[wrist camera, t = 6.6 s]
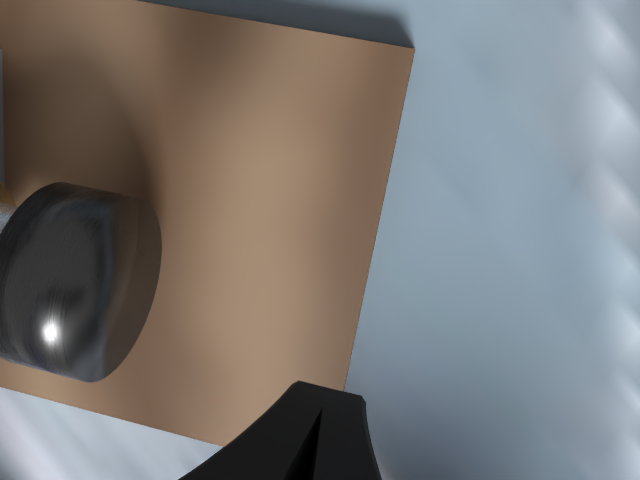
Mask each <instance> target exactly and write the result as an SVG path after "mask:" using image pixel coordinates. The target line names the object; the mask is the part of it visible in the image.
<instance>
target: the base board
mask: <svg viewBox="0 0 640 480" xmlns="http://www.w3.org/2000/svg"><path fill="white" fill-rule="evenodd" d="M0 49H2V71H3V125H4V179H5V186H6V188H7V189H8V190H9V192H10V194H11V195H12V197H13V200H14V202H15V205H16V206H20V205H21V204H22V203H23V202H24V201H25V199H27V198H28V197H29V196H30V195H31V194H33V193H34V192H35V191H37V190H39V189H40V188H42V187H44V186H46V185H49V184H52V183H56V182H67V183H72V184H77V185H81V186H86V187H90V188H95V189H100V190H104V191H109V192H113V193H118V194H123V195H127V196H132V197H136V198H141V199H144V200H146V201H147V202H148V203H149V204H150V205H151V206H152V207H153V209H154V210H155V212H156V215H157V217H158V220H159V224H160V229H161V238H162V256H161V267H160V273H159V279H158V284H157V289H156V292H155V296H154V300H153V303H152V306H151V309H150V312H149V315H148V317H147V320H146V322H145V325H144V327H143V329H142V331H141V333H140V335H139V337H138V339H137V341H136V343H135V344H134V346H133V348H132V349H131V351H130V352H129V354H128V355H127V357H126V358H125V359H124V361H123V362H122V363H121V364H120V365H119V366H118V367H117V369H116V370H114V371H113V372H112V373H111V374H110V375H108V376H107V377H106V378H104V379H102V380H100V381H97V382H93V383H90V382H83V381H79V380H76V379H72V378H68V377H64V376H60V375H56V374H53V373H49V372H45V371H41V370H37V369H33V368H30V367H26V366H22V365H18V364H14V363H11V362H8V361H5V360H4V359H2V358H1V357H0V387H3V388H7V389H10V390H14V391H18V392H21V393H25V394H29V395H33V396H36V397H40V398H44V399H48V400H51V401H55V402H59V403H63V404H66V405H70V406H74V407H77V408H81V409H85V410H89V411H92V412H96V413H100V414H104V415H107V416H111V417H115V418H119V419H122V420H126V421H130V422H133V423H137V424H141V425H145V426H148V427H152V428H156V429H160V430H163V431H167V432H171V433H174V434H178V435H182V436H186V437H189V438H193V439H197V440H201V441H204V442H208V443H212V444H216V445H219V446H223V447H225V446H226V445H227V444H229V443H230V442H231V441H232V440H234V439H235V438H236V437H237V436H239V435H240V434H241V433H242V432H243V431H244V430H245V429H247V428H248V427H249V426H250V425H251V424H252V423H253V422H255V421H256V420H257V419H258V418H259V417H260V416H261V415H262V414H264V413H265V412H266V411H267V410H268V409H269V408H270V407H271V406H272V405H273V404H274V403H275V402H276V401H277V400H278V399H279V398H280V397H281V396H282V395H283V394H284V392H285V391H286V390H287V389H288V388H289V387H290V386H291V384H293V383H295V382H296V381H298V380H299V381H303V382H307V383H311V384H315V385H319V386H323V387H327V388H331V389H335V390H339V391H343V392H344V387H345V382H346V377H347V373H348V368H349V363H350V358H351V353H352V349H353V344H354V339H355V334H356V330H357V325H358V320H359V315H360V310H361V306H362V301H363V296H364V291H365V287H366V282H367V277H368V272H369V268H370V263H371V258H372V253H373V248H374V244H375V239H376V234H377V229H378V225H379V220H380V215H381V210H382V205H383V201H384V196H385V191H386V186H387V182H388V177H389V172H390V167H391V162H392V158H393V153H394V148H395V143H396V139H397V134H398V129H399V124H400V120H401V115H402V110H403V105H404V100H405V96H406V91H407V86H408V81H409V77H410V72H411V67H412V62H413V57H414V53H415V49H413V48H407V47H401V46H396V45H390V44H384V43H378V42H373V41H367V40H361V39H355V38H350V37H344V36H338V35H332V34H326V33H321V32H315V31H309V30H303V29H298V28H292V27H286V26H280V25H275V24H269V23H263V22H257V21H252V20H246V19H240V18H234V17H229V16H223V15H217V14H211V13H206V12H200V11H194V10H188V9H183V8H177V7H171V6H165V5H160V4H154V3H148V2H142V1H137V0H0Z"/></svg>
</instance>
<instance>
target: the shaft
mask: <svg viewBox="0 0 640 480" xmlns="http://www.w3.org/2000/svg"><path fill="white" fill-rule="evenodd" d="M161 256H162V238H161V229H160V224H159V220H158V217H157V215H156V212H155V210H154V209H153V207H152V206H151V205H150V204H149V203H148V202H147V201H146V200H144V199H141V198H136V197H132V196H127V195H123V194H118V193H113V192H109V191H104V190H100V189H95V188H90V187H86V186H81V185H77V184H72V183H67V182H56V183H52V184H49V185H46V186H44V187H42V188H40V189H39V190H37V191H35V192H34V193H33V194H31V195H30V196H29V197H28V198H27V199H25V201H24V202H23V203H22V204H21V205H20V206H16V205H15V202H14V200H13V197H12V195H11V194H10V192H9V190H8V189H7V188H6V186H5V185H4V184H3V183H2V182H1V181H0V357H1V358H2V359H4V360H5V361H8V362H11V363H14V364H18V365H22V366H26V367H30V368H33V369H37V370H41V371H45V372H49V373H53V374H56V375H60V376H64V377H68V378H72V379H76V380H79V381H83V382H90V383H93V382H97V381H100V380H102V379H104V378H106V377H107V376H108V375H110V374H111V373H112V372H113V371H114V370H116V369H117V367H118V366H119V365H120V364H121V363H122V362H123V361H124V359H125V358H126V357H127V355H128V354H129V352H130V351H131V349H132V348H133V346H134V344H135V343H136V341H137V339H138V337H139V335H140V333H141V331H142V329H143V327H144V325H145V322H146V320H147V317H148V315H149V312H150V309H151V306H152V303H153V300H154V296H155V292H156V289H157V284H158V279H159V273H160V267H161Z"/></svg>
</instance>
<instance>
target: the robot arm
mask: <svg viewBox="0 0 640 480" xmlns="http://www.w3.org/2000/svg"><path fill="white" fill-rule="evenodd" d="M178 480H382V478H381V475H380V472H379V468H378V465H377V462H376V458H375V455H374V451H373V447H372V443H371V439H370V434H369V429H368V423H367V416H366V402H365V401H364V399H363V398H362V396H360V395H356V394H352V393H348V392H343V391H339V390H335V389H331V388H327V387H323V386H319V385H315V384H311V383H307V382H303V381H299V380H298V381H296V382H295V383H293V384H291V386H290V387H289V388H288V389H287V390H286V391H285V392H284V394H283V395H282V396H281V397H280V398H279V399H278V400H277V401H276V402H275V403H274V404H273V405H272V406H271V407H270V408H269V409H268V410H267V411H266V412H265V413H264V414H262V415H261V416H260V417H259V418H258V419H257V420H256V421H255V422H253V423H252V424H251V425H250V426H249V427H248V428H247V429H245V430H244V431H243V432H242V433H241V434H240V435H239V436H237V437H236V438H235V439H234V440H232V441H231V442H230V443H229V444H227V445H226V446H225V447H223V448H222V449H221V450H219V451H218V452H217V453H215V454H214V455H213V456H211V457H210V458H209V459H208V460H206V461H205V462H203V463H202V464H201V465H199V466H198V467H196V468H195V469H193V470H192V471H191V472H189V473H188V474H186V475H184V476H183V477H181V478H180V479H178Z"/></svg>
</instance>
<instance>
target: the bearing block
mask: <svg viewBox="0 0 640 480" xmlns="http://www.w3.org/2000/svg"><path fill="white" fill-rule="evenodd" d="M0 181H1V182H2V183H3V184H4V185H5V179H4V125H3V71H2V49H0Z"/></svg>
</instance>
